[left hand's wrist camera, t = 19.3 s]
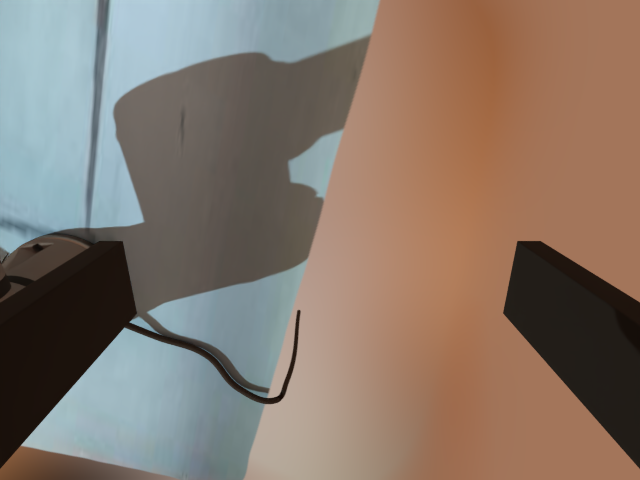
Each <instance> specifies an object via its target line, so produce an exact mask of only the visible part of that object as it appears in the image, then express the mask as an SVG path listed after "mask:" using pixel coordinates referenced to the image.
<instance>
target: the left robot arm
mask: <svg viewBox="0 0 640 480" xmlns="http://www.w3.org/2000/svg"><path fill="white" fill-rule="evenodd" d="M7 255H8V254H7ZM7 255H6V256H5V258H4V259H3V261H2V263H1V261H0V468H1V467H2V466H3V465H4V464H5V463H6V462H7V460H8V459H9V458H10V457H11V456H12V455H13V454H14V452H15V451H16V450H17V449H18V448H19V447H20V446H21V444H22V443H23V442H24V441H25V440H26V439H27V438H28V437H29V435H30V434H31V433H32V432H33V431H34V430H35V429H36V427H37V426H38V425H39V424H40V423H41V422H42V421H43V419H44V418H45V417H46V416H47V415H48V414H49V413H50V411H51V410H52V409H53V408H54V407H55V406H56V405H57V404H58V402H59V401H60V400H61V399H62V398H63V397H64V396H65V394H66V393H67V392H68V391H69V390H70V389H71V388H72V386H73V385H74V384H75V383H76V382H77V381H78V380H79V378H80V377H81V376H82V375H83V374H84V373H85V372H86V371H87V369H88V368H89V367H90V366H91V365H92V364H93V363H94V361H95V360H96V359H97V358H98V357H99V356H100V355H101V353H102V352H103V351H104V350H105V349H106V348H107V347H108V346H109V344H110V343H111V342H112V341H113V340H114V339H115V338H116V336H117V335H118V334H119V333H120V332H121V331H122V330H123V328H124V327H125V328H127V329H130V330H132V331H135V332H137V333H140V334H142V335H145V336H148V337H150V338H153V339H155V340H158V341H161V342H164V343H168V344H171V345H175V346H179V347H182V348H185V349H188V350H191V351H194V352H196V353H198V354H200V355H201V356H203V357H205V358H206V359H208V360H209V361H210V362H211V363H212V364H213V365H214V366H215V367H216V369H217V370H218V371H219V373H220V374H221V375H222V377H223V378H224V379H225V381H226V382H227V383H228V384H229V385H230V386H231V387H232V388H234V389H235V390H237V391H238V392H240V393H241V394H243V395H244V396H246V397H248V398H250V399H252V400H254V401H256V402H259V403H263V404H274V403H278V402H280V401H281V400H282V399H283V398H284V396H285V394H286V391H287V387H288V384H289V381H290V379H291V376H292V373H293V369H294V365H295V361H296V356H297V348H298V335H299V321H300V314H301V311H300V310H297V315H296V323H295V335H294V346H293V353H292V358H291V362H290V366H289V369H288V372H287V375H286V378H285V380H284V383H283V386H282V390H281V392H280V394H279V395H278V396H277V397H274V398H263V397H260V396H257V395H255V394H253V393H251V392H249V391H248V390H246V389H244V388H243V387H241V386H240V385H238V384H237V383H236V382H235V381H234V380H233V379H232V378H231V377H230V376H229V375H228V373H227V372H226V371H225V369H224V368H223V366H222V365H221V364H220V363H219V361H218V360H217V359H216V358H215V357H213V356H212V355H211V354H210V353H208V352H207V351H205V350H203V349H201V348H199V347H197V346H195V345H192V344H190V343H186V342H183V341H180V340H176V339H172V338H169V337H165V336H162V335H160V334H157V333H154V332H152V331H149V330H147V329H144V328H142V327H139V326H137V325H134V324H132V323H129V322H130V320H131V319H132V318H133V317H134V316H135V315H136V314H137V312H136V307H135V302H134V297H133V291H132V286H131V281H130V276H129V271H128V266H127V261H126V256H125V251H124V246H123V241H99V242H97V243H96V244H92V243H90V242H88V241H86V240H84V239H81V238H78V237H74V236H70V235H63V234H51V235H44V236H41V237H38V238H35V239H33V240H31V241H29V242H27V243H25V244H23V245H21V246H20V247H18V248H17V249H16V250H15V251H13V252H12V253H11V254H10V255H9V257H8V258H7V259H6V257H7ZM5 259H6V260H5ZM4 260H5V261H4ZM503 314H504V315H505V316H506V317H507V318H508V319H509V320H510V322H511V323H512V324H513V325H514V326H515V327H516V328H517V330H518V331H519V332H520V333H521V334H522V335H523V336H524V338H525V339H526V340H527V341H528V342H529V343H530V344H531V345H532V347H533V348H534V349H535V350H536V351H537V352H538V353H539V355H540V356H541V357H542V358H543V359H544V360H545V361H546V363H547V364H548V365H549V366H550V367H551V368H552V369H553V371H554V372H555V373H556V374H557V375H558V376H559V377H560V378H561V380H562V381H563V382H564V383H565V384H566V385H567V386H568V388H569V389H570V390H571V391H572V392H573V393H574V394H575V396H576V397H577V398H578V399H579V400H580V401H581V402H582V403H583V405H584V406H585V407H586V408H587V409H588V410H589V411H590V413H591V414H592V415H593V416H594V417H595V418H596V419H597V421H598V422H599V423H600V424H601V425H602V426H603V427H604V429H605V430H606V431H607V432H608V433H609V434H610V435H611V437H612V438H613V439H614V440H615V441H616V442H617V443H618V444H619V446H620V447H621V448H622V449H623V450H624V451H625V452H626V454H627V455H628V456H629V457H630V458H631V459H632V460H633V461H634V463H635V464H636V465H637V466H638V467H639V468H640V302H638V301H637V300H635V299H633V298H632V297H630V296H629V295H627V294H625V293H624V292H622V291H620V290H619V289H617V288H616V287H614V286H612V285H611V284H609V283H607V282H606V281H604V280H603V279H601V278H599V277H598V276H596V275H595V274H593V273H591V272H590V271H588V270H586V269H585V268H583V267H582V266H580V265H578V264H577V263H575V262H573V261H572V260H570V259H569V258H567V257H565V256H564V255H562V254H561V253H559V252H557V251H556V250H554V249H552V248H551V247H549V246H548V245H546V244H544V243H543V242H541V241H518V242H517V246H516V251H515V256H514V261H513V266H512V271H511V276H510V281H509V286H508V291H507V297H506V302H505V307H504V312H503Z"/></svg>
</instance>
